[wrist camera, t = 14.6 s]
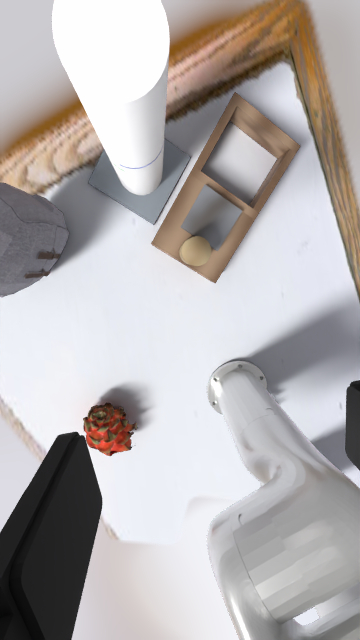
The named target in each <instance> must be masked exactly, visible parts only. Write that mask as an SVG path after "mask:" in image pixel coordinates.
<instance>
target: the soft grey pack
mask: <svg viewBox="0 0 360 640" xmlns="http://www.w3.org/2000/svg"><path fill="white" fill-rule="evenodd" d="M68 236H69V232H68V230H67V227H66V225H65V221H64V217H63V213H62V212H61V211H60V210H59V209H57V207H56V206H54V205H53V204H52V203H51V202H50V201H48V200H47V199H46V198H44V197H41V196H39V195H37V194H36V195H33V196H32V195H30V194H28V193H26V192H24V191H22V190H20V189H17V188H15V187H13V186H11V185H8V184H6V183H0V297H4V296H7V295H10V294H14V293H16V292H18V291H20V290H22V289H24V288H26V287H29V286H30V285H32V284H33V283H35V282H37V281H38V280H40V279H41V278H42V277H43V276H48V275H49V273H50V272H49V270H50V269H51V268H52V266H53V265H54V264H55V262H56V261H57V260H58V259H59V257H60V255H61V253H62V251H63V249H64V247H65V245H66V243H67V240H68Z"/></svg>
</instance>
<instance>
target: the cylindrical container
mask: <svg viewBox="0 0 360 640" xmlns="http://www.w3.org/2000/svg"><path fill="white" fill-rule="evenodd" d="M52 30H53V37H54V43H55V46H56V49H57V52H58V55H59V58H60V60H61V62H62V64H63V66H64V68H65V70H66V72H67V74H68V76H69V78H70V80H71V82H72V84H73V86H74V88H75V90H76V92H77V94H78V96H79V98H80V100H81V102H82V104H83V106H84V108H85V111H86V113H87V115H88V117H89V119H90V121H91V123H92V125H93V127H94V129H95V131H96V133H97V135H98V137H99V139H100V141H101V143H102V145H103V147H104V149H105V151H106V153H107V155H108V157H109V159H110V161H111V163H112V165H113V167H114V169H115V171H116V173H117V175H118V177H119V179H120V181H121V183H122V185H123V186H124V187H125V188H126V189H127V190H128V191H129V192H131V193H133V194H136V195H147V194H150V193H151V192H153V191H154V190H155V189H156V188H157V187H158V186H159V184H160V182H161V179H162V171H163V152H164V135H165V116H166V97H167V79H168V61H169V43H170V40H169V27H168V22H167V17H166V13H165V10H164V8H163V5H162V3H161V0H55V1H54V6H53V12H52Z"/></svg>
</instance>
